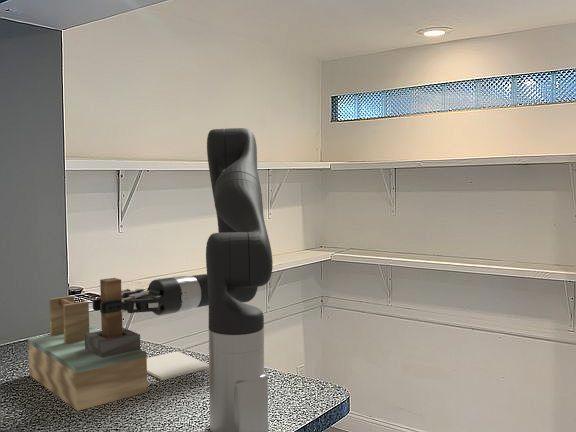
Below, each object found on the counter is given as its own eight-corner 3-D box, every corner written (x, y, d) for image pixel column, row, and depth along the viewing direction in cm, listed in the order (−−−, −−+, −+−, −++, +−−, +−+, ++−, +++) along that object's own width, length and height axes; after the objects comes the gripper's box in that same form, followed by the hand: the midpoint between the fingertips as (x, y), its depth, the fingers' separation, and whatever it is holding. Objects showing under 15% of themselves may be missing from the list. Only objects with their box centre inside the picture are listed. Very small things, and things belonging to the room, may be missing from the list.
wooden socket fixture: (147, 392, 117) (145, 311, 116) (77, 411, 108) (74, 324, 107) (92, 361, 137) (90, 292, 136) (29, 375, 127) (26, 301, 126)
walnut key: (122, 349, 119) (121, 279, 118) (108, 352, 117) (106, 281, 116) (116, 345, 121) (114, 277, 120) (102, 348, 119) (100, 279, 118)
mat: (210, 367, 132) (210, 365, 132) (162, 380, 124) (162, 377, 124) (177, 353, 142) (177, 351, 142) (130, 364, 134) (130, 361, 134)
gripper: (158, 273, 133) (82, 283, 121) (191, 281, 122) (112, 293, 111) (158, 306, 133) (83, 319, 122) (192, 317, 123) (113, 332, 111)
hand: (97, 306), depth 116 cm, fingers closed on walnut key, 3 cm apart
